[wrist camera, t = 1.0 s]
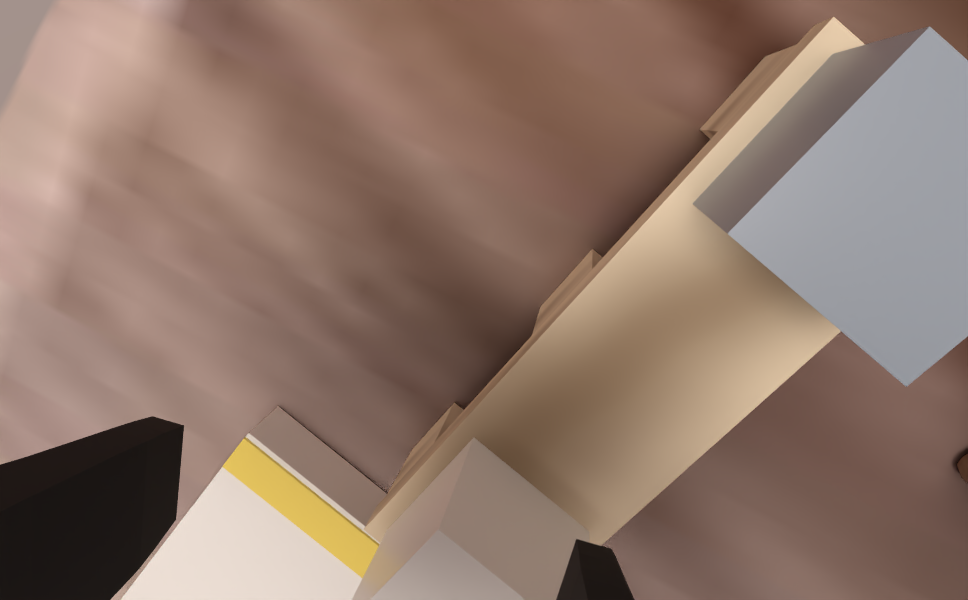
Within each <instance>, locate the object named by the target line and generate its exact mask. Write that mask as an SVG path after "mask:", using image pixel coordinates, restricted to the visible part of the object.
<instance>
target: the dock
mask: <svg viewBox="0 0 968 600" xmlns="http://www.w3.org/2000/svg"><path fill="white" fill-rule="evenodd" d="M386 495H387V493H385V492H384V491H383V490H382V489H380V488H379V487H378V486H377V485H375V484H374V483H373V482H372V481H370V480H369V479H368V478H367V477H365V476H364V475H363V474H362V473H360V472H359V471H358V470H357V469H356V468H354V467H353V466H352V465H351V464H349V463H348V462H347V461H346V460H344V459H343V458H342V457H341V456H339V455H338V454H337V453H336V452H334V451H333V450H332V449H331V448H329V447H328V446H327V445H326V444H324V443H323V442H322V441H321V440H320V439H318V438H317V437H316V436H315V435H313V434H312V433H311V432H310V431H308V430H307V429H306V428H305V427H303V426H302V425H301V424H300V423H298V422H297V421H296V420H295V419H293V418H292V417H291V416H290V415H289V414H287V413H286V412H285V411H284V410H282V409H281V408H280V407H279V406H278V407H277V408H276V409H275V410H274V411H272V412H271V413H270V414H269V415H268V416H267V417H266V418H265V419H263V420H262V421H261V422H260V423H259V424H258V425H257V426H256V427H255V428H253V429H252V430H251V431H250V432H249V433H248V434H247V436H246V437H245V438H244V439H243V440H242V442H241V443H240V444H239V445H238V447H237V448H236V449H235V451H234V452H233V453H232V455H231V456H230V457H229V458H228V460H227V461H226V462H225V464H224V465H223V466H222V468H221V470H220V471H219V472H218V473H217V475H216V476H215V477H214V479H213V480H212V481H211V483H210V484H209V485H208V487H207V488H206V489H205V490H204V492H203V493H202V494H201V496H200V497H199V498H198V500H197V501H196V502H195V504H194V505H193V506H192V507H191V509H190V510H189V511H188V513H187V514H186V515H185V517H184V518H183V519H182V520H181V522H180V523H179V524H178V526H177V527H176V528H175V530H174V531H173V532H172V534H171V535H170V536H169V537H168V539H167V540H166V541H165V543H164V544H163V545H162V547H161V548H160V549H159V550H158V552H157V553H156V554H155V556H154V557H153V558H152V560H151V561H150V562H149V564H148V565H147V566H146V567H145V569H144V570H143V571H142V573H141V574H140V575H139V577H138V578H137V579H136V580H135V582H134V583H133V584H132V586H131V587H130V588H129V590H128V591H127V592H126V594H125V595H124V596H123V597H122V599H121V600H352V598H353V596H354V594H355V592H356V590H357V588H358V586H359V584H360V582H361V580H362V578H363V576H364V575H365V573H366V571H367V569H368V567H369V565H370V563H371V561H372V559H373V557H374V555H375V553H376V551H377V549H378V547H379V545H380V542H378V541H377V540H376V539H375V538H373V537H372V536H371V535H370V534H368V533H367V532H366V531H365V530H364V528H365V526H366V524H367V523H368V521H369V519H370V517H371V516H372V514H373V512H374V510H375V508H376V507H377V505H378V504H379V503H380V502H381V501H382V500H383V499H384V497H385V496H386Z"/></svg>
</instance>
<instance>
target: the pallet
mask: <svg viewBox="0 0 968 600" xmlns="http://www.w3.org/2000/svg"><path fill="white" fill-rule="evenodd" d="M862 45H865V44H864V43H863V42H862V41H860V40H859V39H858V38H857V37H856V36H855V35H854V34H852V33H851V32H850V31H849V30H848V29H847V28H846V27H845V26H843V25H842V24H841V23H840V22H839V21H838V20H837V19H836V18H834V17H832V18H830V19H828V20H825V21H823V22H821V23H818V24H816V25H814V26H813V27H812V28H811V29H810V31H809V32H808V33H807V34H806V35H805V36H804V37H803V38H802V39H801V40H800V42H799V43H798V44H797V45H794V46H791V47H789V48H786V49H784V50H781V51H778V52H776V53H773V54H770V55H768V56H765V57H764V58H763V59H762V61H761V62H760V63H759V64H758V65H757V66H756V67H755V68H754V69H753V71H752V72H751V73H750V74H749V75H748V76H747V77H746V78H745V79H744V81H743V82H742V83H741V84H740V85H739V86H738V87H737V88H736V89H735V91H734V92H733V93H732V94H731V95H730V96H729V97H728V98H727V99H726V101H725V102H724V103H723V104H722V105H721V106H720V107H719V108H718V110H717V111H716V112H715V113H714V114H713V115H712V116H711V117H710V118H709V120H708V121H707V122H706V123H705V124H704V125H703V126H702V127H701V128H700V131H702V132H703V133H704V134H705V135H706V136H707V137H709V138H710V140H709V142H708V143H707V144H706V145H705V146H704V147H703V148H702V149H701V150H700V151H699V153H698V154H697V155H696V156H695V157H694V158H693V159H692V160H691V161H690V162H689V163H688V165H687V166H686V167H685V168H684V169H683V170H682V171H681V172H680V173H679V174H678V176H677V177H676V178H675V179H674V180H673V181H672V182H671V183H670V184H669V185H668V187H667V188H666V189H665V190H664V191H663V192H662V193H661V194H660V195H659V196H658V198H657V199H656V200H655V201H654V202H653V203H652V204H651V205H650V206H649V207H648V209H647V210H646V211H645V212H644V213H643V214H642V215H641V216H640V217H639V218H638V220H637V221H636V222H635V223H634V224H633V225H632V226H631V227H630V228H629V229H628V231H627V232H626V233H625V234H624V235H623V236H622V237H621V238H620V239H619V240H618V241H617V243H616V244H615V245H614V246H613V247H612V248H611V249H610V250H609V251H608V252H607V254H606V255H605V256H604V257H602V256H601V255H599V254H598V253H597V252H596V251H595V250H593V249H592V250H591V251H590V252H589V253H588V254H587V255H586V256H585V258H584V259H583V260H582V261H581V262H580V263H579V264H578V265H577V266H576V268H575V269H574V270H573V271H572V272H571V273H570V274H569V275H568V276H567V278H566V279H565V280H564V281H563V282H562V283H561V284H560V285H559V287H558V288H557V289H556V290H555V291H554V292H553V293H552V294H551V295H550V297H549V298H548V299H547V300H546V301H545V302H544V303H543V304H542V305H541V307H540V310H539V313H538V316H537V320H536V323H535V326H534V330H533V333H532V336H531V337H530V338H529V339H528V340H527V341H526V343H525V344H524V345H523V346H522V347H521V348H520V349H519V350H518V351H517V352H516V354H515V355H514V356H513V357H512V358H511V359H510V360H509V361H508V362H507V363H506V365H505V366H504V367H503V368H502V369H501V370H500V371H499V372H498V373H497V374H496V376H495V377H494V378H493V379H492V380H491V381H490V382H489V383H488V384H487V385H486V387H485V388H484V389H483V390H482V391H481V392H480V393H479V394H478V395H477V396H476V397H475V399H474V400H473V401H472V402H471V403H470V404H469V405H468V406H467V407H466V408H465V410H463V409H462V408H461V407H459V406H458V405H457V404H456V403H453V405H452V406H451V407H450V408H449V409H448V410H447V411H446V412H445V413H444V415H443V416H442V417H441V418H440V419H439V420H438V421H437V422H436V423H435V425H434V426H433V427H432V428H431V429H430V430H429V431H428V432H427V433H426V435H425V436H424V437H423V438H422V439H421V440H420V441H419V442H418V443H417V445H416V446H415V447H414V448H413V449H412V451H411V452H410V454H409V456H408V458H407V459H406V461H405V463H404V465H403V467H402V468H401V470H400V472H399V474H398V476H397V477H396V479H395V481H394V483H393V485H392V486H391V488H390V490H389V492H388V494H387V495H386V496H385V497H384V499H383V500H382V501H381V502H380V503H379V504H378V505H377V507H376V508H375V510H374V512H373V514H372V516H371V517H370V519H369V521H368V523H367V524H366V526H365V528H364V530H365V531H366V532H367V533H368V534H370V535H371V536H372V537H373V538H375V539H376V540H377V541H378V542H380V543H381V541H382V539H383V537H384V535H385V533H386V531H387V530H388V528H389V527H390V526H391V525H392V524H393V523H394V522H395V521H396V520H397V519H398V518H399V517H400V516H401V515H402V514H403V512H404V511H405V510H406V509H407V508H408V507H409V506H410V505H411V504H412V503H413V502H414V501H415V500H416V499H417V498H418V496H419V495H420V494H421V493H422V492H423V491H424V490H425V489H426V488H427V487H428V486H429V485H430V484H431V483H432V481H433V480H434V479H435V478H436V477H437V476H438V475H439V474H440V473H441V472H442V471H443V470H444V469H445V468H446V467H447V465H448V464H449V463H450V462H451V461H452V460H453V459H454V458H455V457H456V456H457V455H458V454H459V453H460V452H461V451H462V449H463V448H464V447H465V446H466V445H467V444H468V443H469V442H470V441H471V440H472V439H473V438H475V439H477V440H478V441H479V442H480V443H482V444H483V445H484V446H485V447H486V448H488V449H489V450H490V451H491V452H493V453H494V454H495V455H496V456H498V457H499V458H500V459H501V460H502V461H504V462H505V463H506V464H507V465H509V466H510V467H511V468H512V469H513V470H515V471H516V472H517V473H518V474H520V475H521V476H522V477H523V478H524V479H526V480H527V481H528V482H529V483H531V484H532V485H533V486H534V487H535V488H537V489H538V490H539V491H540V492H542V493H543V494H544V495H545V496H546V497H548V498H549V499H550V500H551V501H553V502H554V503H555V504H556V505H557V506H559V507H560V508H561V509H562V510H564V511H565V512H566V513H567V514H568V515H570V516H571V517H572V518H573V519H575V520H576V521H577V522H578V523H579V524H581V525H582V526H583V527H584V528H586V529H587V530H588V531H589V543H593V544H596V545H599V546H601V545H602V544H603V543H604V542H606V541H607V540H608V539H609V538H610V537H611V536H612V535H613V534H615V533H616V532H617V531H618V530H619V529H620V528H621V527H622V526H623V525H625V524H626V523H627V522H628V521H629V520H630V519H631V518H632V517H634V516H635V515H636V514H637V513H638V512H639V511H640V510H641V509H643V508H644V507H645V506H646V505H647V504H648V503H649V502H650V501H651V500H653V499H654V498H655V497H656V496H657V495H658V494H659V493H660V492H662V491H663V490H664V489H665V488H666V487H667V486H668V485H669V484H671V483H672V482H673V481H674V480H675V479H676V478H677V477H678V476H679V475H681V474H682V473H683V472H684V471H685V470H686V469H687V468H688V467H690V466H691V465H692V464H693V463H694V462H695V461H696V460H697V459H699V458H700V457H701V456H702V455H703V454H704V453H705V452H706V451H707V450H709V449H710V448H711V447H712V446H713V445H714V444H715V443H716V442H718V441H719V440H720V439H721V438H722V437H723V436H724V435H725V434H727V433H728V432H729V431H730V430H731V429H732V428H733V427H734V426H736V425H737V424H738V423H739V422H740V421H741V420H742V419H743V418H744V417H746V416H747V415H748V414H749V413H750V412H751V411H752V410H753V409H755V408H756V407H757V406H758V405H759V404H760V403H761V402H762V401H764V400H765V399H766V398H767V397H768V396H769V395H770V394H771V393H772V392H774V391H775V390H776V389H777V388H778V387H779V386H780V385H781V384H783V383H784V382H785V381H786V380H787V379H788V378H789V377H790V376H792V375H793V374H794V373H795V372H796V371H797V370H798V369H799V368H800V367H802V366H803V365H804V364H805V363H806V362H807V361H808V360H809V359H811V358H812V357H813V356H814V355H815V354H816V353H817V352H818V351H820V350H821V349H822V348H823V347H824V346H825V345H826V344H827V343H828V342H830V341H831V340H832V339H833V338H834V337H835V336H836V335H837V334H839V333H840V332H841V331H840V330H839V329H838V328H837V327H836V326H835V325H833V324H832V323H831V322H830V321H829V320H828V319H826V318H825V317H824V316H823V315H822V314H821V313H819V312H818V311H817V310H816V309H815V308H813V307H812V306H811V305H810V304H809V303H808V302H806V301H805V300H804V299H803V298H802V297H801V296H799V295H798V294H797V293H796V292H795V291H794V290H792V289H791V288H790V287H789V286H788V285H787V284H785V283H784V282H783V281H782V280H781V279H780V278H778V277H777V276H776V275H775V274H774V273H773V272H771V271H770V270H769V269H768V268H767V267H766V266H764V265H763V264H762V263H761V262H760V261H759V260H757V259H756V258H755V257H754V256H753V255H752V254H750V253H749V252H748V251H747V250H746V249H745V248H743V247H742V246H741V245H740V244H739V243H738V242H736V241H735V240H734V239H733V238H732V237H731V236H729V235H728V234H727V233H726V232H725V231H724V230H722V229H721V228H720V227H719V226H718V225H717V224H715V223H714V222H713V221H712V220H711V219H710V218H708V217H707V216H706V215H705V214H704V213H703V212H701V211H700V210H699V209H698V208H697V207H696V206H694V205H693V203H694V202H695V200H696V199H697V198H698V197H699V196H700V195H701V194H702V193H703V192H704V191H705V190H706V189H707V188H708V187H709V186H710V184H711V183H712V182H713V181H714V180H715V179H716V178H717V177H718V176H719V175H720V174H721V173H722V172H723V171H724V169H725V168H726V167H727V166H728V165H729V164H730V163H731V162H732V161H733V160H734V159H735V158H736V157H737V156H738V155H739V153H740V152H741V151H742V150H743V149H744V148H745V147H746V146H747V145H748V144H749V143H750V142H751V141H752V140H753V139H754V137H755V136H756V135H757V134H758V133H759V132H760V131H761V130H762V129H763V128H764V127H765V126H766V125H767V124H768V122H769V121H770V120H771V119H772V118H773V117H774V116H775V115H776V114H777V113H778V112H779V111H780V110H781V109H782V108H783V106H784V105H785V104H786V103H787V102H788V101H789V100H790V99H791V98H792V97H793V96H794V95H795V94H796V93H797V92H798V90H799V89H800V88H801V87H802V86H803V85H804V84H805V83H806V82H807V81H808V80H809V79H810V78H811V77H812V75H813V74H814V73H815V72H816V71H817V70H818V69H819V68H820V67H821V66H822V65H823V64H824V63H825V62H826V61H827V59H828V58H829V57H830V56H831V55H832V54H834V53H838V52H841V51H845V50H848V49H852V48H855V47H859V46H862Z"/></svg>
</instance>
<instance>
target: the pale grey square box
mask: <svg viewBox="0 0 968 600" xmlns="http://www.w3.org/2000/svg"><path fill="white" fill-rule="evenodd" d="M693 205H694V206H696V207H697V208H698V209H699V210H700V211H701V212H703V213H704V214H705V215H706V216H707V217H708V218H710V219H711V220H712V221H713V222H714V223H715V224H717V225H718V226H719V227H720V228H721V229H722V230H724V231H725V232H726V233H727V234H728V235H729V236H731V237H732V238H733V239H734V240H735V241H736V242H738V243H739V244H740V245H741V246H742V247H743V248H745V249H746V250H747V251H748V252H749V253H750V254H752V255H753V256H754V257H755V258H756V259H757V260H759V261H760V262H761V263H762V264H763V265H764V266H766V267H767V268H768V269H769V270H770V271H771V272H773V273H774V274H775V275H776V276H777V277H778V278H780V279H781V280H782V281H783V282H784V283H785V284H787V285H788V286H789V287H790V288H791V289H792V290H794V291H795V292H796V293H797V294H798V295H799V296H801V297H802V298H803V299H804V300H805V301H806V302H808V303H809V304H810V305H811V306H812V307H813V308H815V309H816V310H817V311H818V312H819V313H821V314H822V315H823V316H824V317H825V318H826V319H828V320H829V321H830V322H831V323H832V324H833V325H835V326H836V327H837V328H838V329H839V330H840V331H842V332H843V333H844V334H845V335H846V336H847V337H849V338H850V339H851V340H852V341H853V342H854V343H856V344H857V345H858V346H859V347H860V348H861V349H863V350H864V351H865V352H866V353H867V354H868V355H870V356H871V357H872V358H873V359H874V360H875V361H877V362H878V363H879V364H880V365H881V366H883V367H884V368H885V369H886V370H887V371H888V372H890V373H891V374H892V375H893V376H894V377H895V378H897V379H898V380H899V381H900V382H901V383H902V384H904V385H905V386H906V387H907V386H908V385H909V384H910V383H912V382H913V381H914V380H915V379H916V378H918V377H919V376H920V375H921V374H922V373H924V372H925V371H926V370H927V369H928V368H930V367H931V366H932V365H933V364H935V363H936V362H937V361H938V360H939V359H941V358H942V357H943V356H944V355H945V354H947V353H948V352H949V351H950V350H951V349H953V348H954V347H955V346H956V345H958V344H959V343H960V342H961V341H962V340H964V339H965V338H966V337H967V336H968V60H967V59H965V58H964V57H963V56H962V55H961V54H960V53H959V52H958V51H957V50H955V49H954V48H953V47H952V46H951V45H950V44H949V43H948V42H946V41H945V40H944V39H943V38H942V37H941V36H940V35H939V34H937V33H936V32H935V31H934V30H933V29H932V28H931V27H926V28H923V29H919V30H916V31H912V32H908V33H905V34H901V35H898V36H894V37H891V38H887V39H884V40H880V41H877V42H873V43H870V44H866V45H862V46H859V47H855V48H852V49H848V50H845V51H841V52H838V53H834V54H832V55H831V56H830V57H829V58H828V59H827V61H826V62H825V63H824V64H823V65H822V66H821V67H820V68H819V69H818V70H817V71H816V72H815V73H814V74H813V75H812V77H811V78H810V79H809V80H808V81H807V82H806V83H805V84H804V85H803V86H802V87H801V88H800V89H799V90H798V92H797V93H796V94H795V95H794V96H793V97H792V98H791V99H790V100H789V101H788V102H787V103H786V104H785V105H784V106H783V108H782V109H781V110H780V111H779V112H778V113H777V114H776V115H775V116H774V117H773V118H772V119H771V120H770V121H769V122H768V124H767V125H766V126H765V127H764V128H763V129H762V130H761V131H760V132H759V133H758V134H757V135H756V136H755V137H754V139H753V140H752V141H751V142H750V143H749V144H748V145H747V146H746V147H745V148H744V149H743V150H742V151H741V152H740V153H739V155H738V156H737V157H736V158H735V159H734V160H733V161H732V162H731V163H730V164H729V165H728V166H727V167H726V168H725V169H724V171H723V172H722V173H721V174H720V175H719V176H718V177H717V178H716V179H715V180H714V181H713V182H712V183H711V184H710V186H709V187H708V188H707V189H706V190H705V191H704V192H703V193H702V194H701V195H700V196H699V197H698V198H697V199H696V200H695V202H694V203H693Z"/></svg>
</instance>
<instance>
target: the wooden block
mask: <svg viewBox="0 0 968 600" xmlns="http://www.w3.org/2000/svg"><path fill="white" fill-rule="evenodd" d="M957 466H958V469H959V472H960V475H961V477H962V478H963V479H964V480H965V481H966V482H967V483H968V453H967V454H966V455H965V456H963V457H962V458H961V459H960V461H959V462H958V464H957Z"/></svg>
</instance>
